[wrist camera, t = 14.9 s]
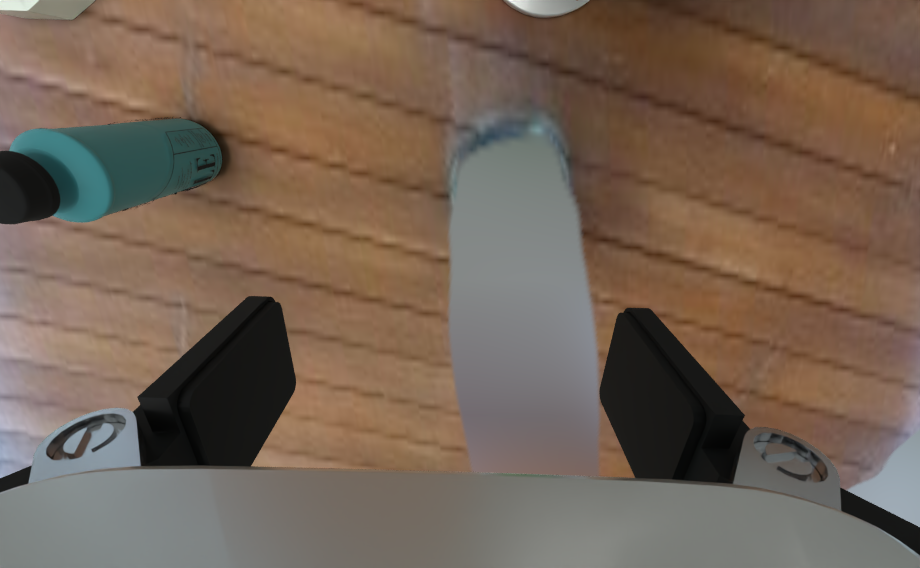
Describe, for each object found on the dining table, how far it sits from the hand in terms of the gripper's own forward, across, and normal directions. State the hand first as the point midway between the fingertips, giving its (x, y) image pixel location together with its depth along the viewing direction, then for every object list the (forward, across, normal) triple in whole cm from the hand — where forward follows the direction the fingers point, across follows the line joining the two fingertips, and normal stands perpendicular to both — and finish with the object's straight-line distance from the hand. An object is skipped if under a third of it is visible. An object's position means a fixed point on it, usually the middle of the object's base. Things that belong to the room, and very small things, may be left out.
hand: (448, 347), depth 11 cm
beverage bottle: (+33, +27, -1) cm, 42 cm away
